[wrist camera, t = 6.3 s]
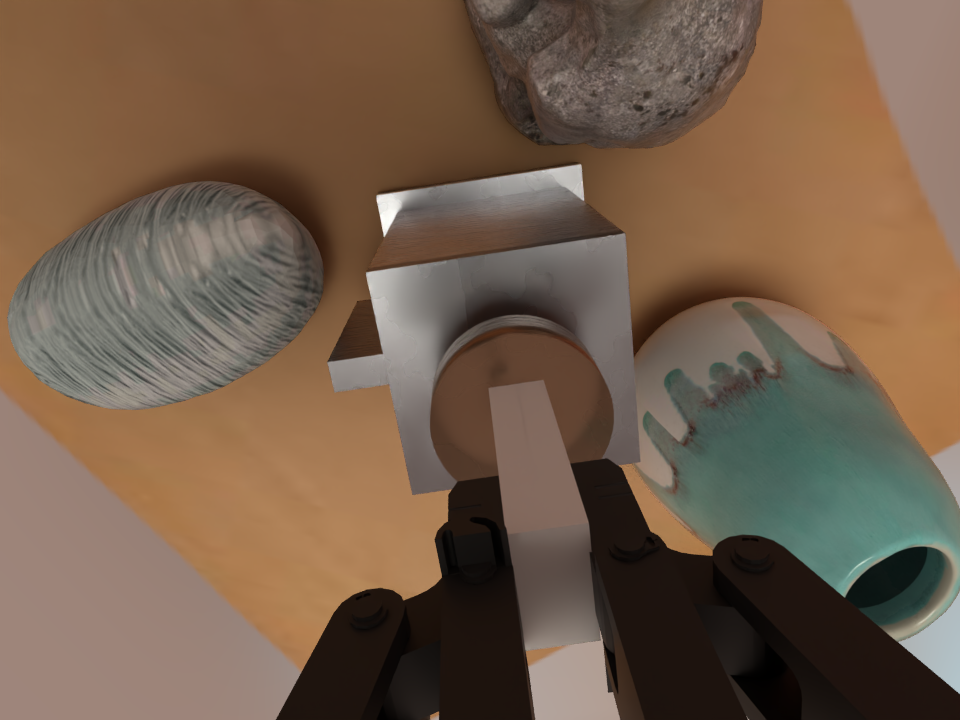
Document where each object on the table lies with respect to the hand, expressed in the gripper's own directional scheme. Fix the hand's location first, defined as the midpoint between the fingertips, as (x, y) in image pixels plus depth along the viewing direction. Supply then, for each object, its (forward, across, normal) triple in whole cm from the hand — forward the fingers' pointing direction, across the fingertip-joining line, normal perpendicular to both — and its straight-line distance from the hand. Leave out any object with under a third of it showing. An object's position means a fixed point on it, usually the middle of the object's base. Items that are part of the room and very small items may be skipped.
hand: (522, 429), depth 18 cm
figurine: (+18, +5, +12) cm, 22 cm away
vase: (+18, +11, -8) cm, 23 cm away
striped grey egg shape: (+18, -15, +2) cm, 24 cm away
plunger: (+13, 0, 0) cm, 13 cm away
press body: (+18, 0, 0) cm, 18 cm away
